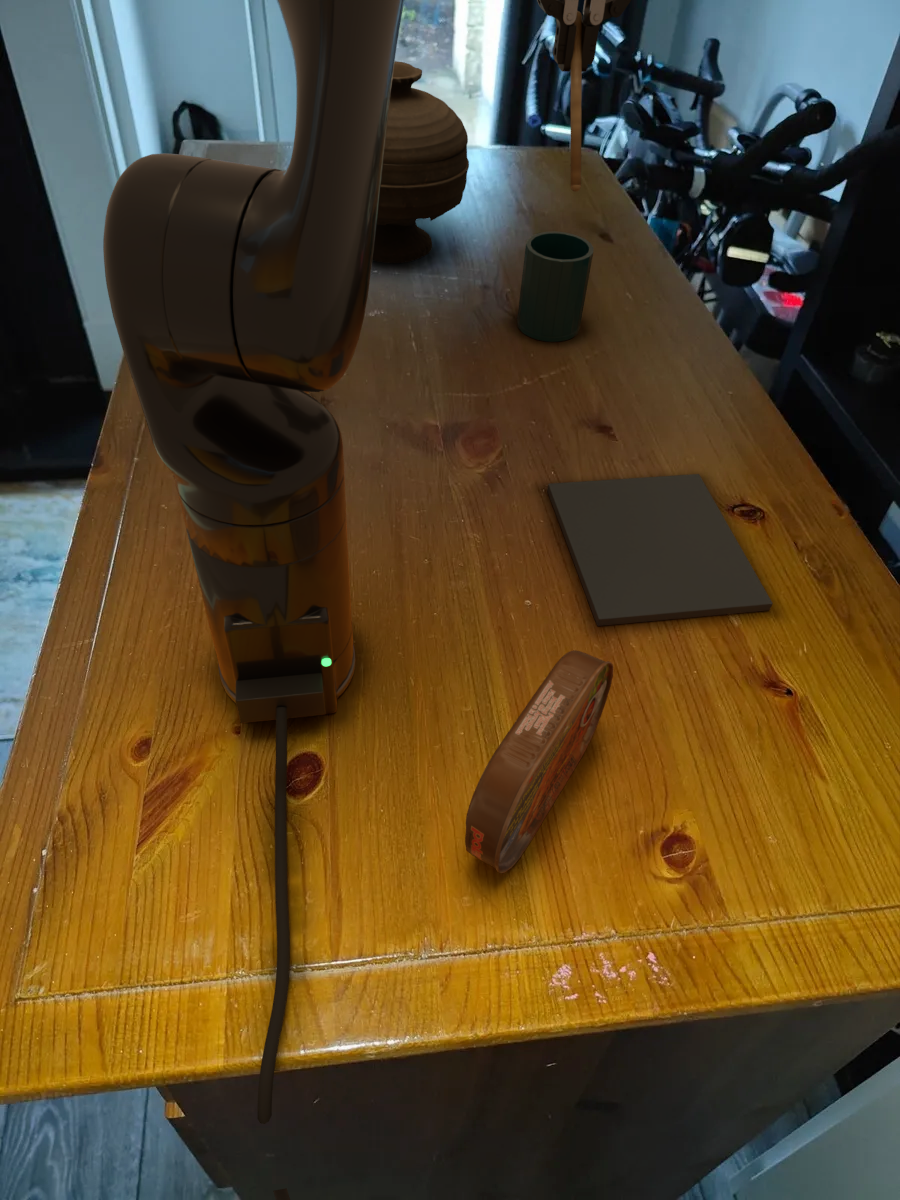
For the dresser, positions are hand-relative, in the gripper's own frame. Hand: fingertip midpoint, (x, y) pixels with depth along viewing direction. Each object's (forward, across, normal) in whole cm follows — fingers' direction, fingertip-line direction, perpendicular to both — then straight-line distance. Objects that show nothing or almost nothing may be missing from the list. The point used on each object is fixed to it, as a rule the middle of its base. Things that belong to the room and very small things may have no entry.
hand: (572, 68), depth 79 cm
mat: (+24, 0, -40) cm, 47 cm away
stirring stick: (+2, 0, -3) cm, 4 cm away
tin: (+24, -15, -61) cm, 67 cm away
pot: (+24, -15, +17) cm, 33 cm away
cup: (+24, 0, -4) cm, 24 cm away
